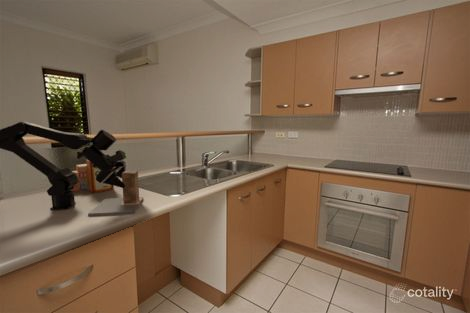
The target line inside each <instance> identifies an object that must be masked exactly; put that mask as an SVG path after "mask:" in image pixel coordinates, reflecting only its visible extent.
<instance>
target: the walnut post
mask: <svg viewBox="0 0 470 313" xmlns="http://www.w3.org/2000/svg"><path fill="white" fill-rule="evenodd" d="M121 181H122V182H123V184H124V185H125V186H126V187H125V188H122V198H123V202H124V204H130V203H137V202H138V200H139V197H140V187H139V170H126V171H124V172H123V173H122V178H121Z"/></svg>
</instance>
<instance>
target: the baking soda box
mask: <svg viewBox="0 0 470 313" xmlns="http://www.w3.org/2000/svg"><path fill="white" fill-rule="evenodd" d="M85 162H86V163H85V164H87V175H88V186H89V189H88V191H89V192H90V193H92V194H97V193H102V192H107V191H108V192H109V191H112V190H114V189H115V188H114V187H115V186H114V185H110V184H105V183H104V184H103V182H104V181H105V180H104V181H103V182H101V183H99V182H98V181H97V180H96V176H97V175H98V174H99V173H100V172H101V170H99V169H98V168H97V167H95V168H94V167H93V164H92V163H91V162H90V161H89V160H87V159H86V160H85Z"/></svg>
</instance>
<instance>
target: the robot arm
mask: <svg viewBox="0 0 470 313" xmlns="http://www.w3.org/2000/svg"><path fill="white" fill-rule="evenodd" d="M27 135H32V136H36V137H40V138H43V139H47V140H50V141H54V142H57V143H60V145H62V146H64V147H66V148H69V149H71V150H75V151H76V154H77V155H76V159H78V160H79V159H82V158H85V159H86V160H89V161H90V162H91V163H92V164H93V167H94V168H95V167H97V168H98V169H99V170H101V172H100V173H99V174H98V175H97V176H96V180H97V181H98V182H99V183H101V182H103V181H104V180H105V181H104V182H103V184H104V183H105V184H110V185H113V186H114V187H117V188H121V189H123V188H125V187H126V186H125V185H124V184H123V182H122V173H123V172H124V171H127V170H126V168H127V164H126V161H124V160H125V159H127V156H126V152H124V151H123V150H122V149H118V150H117V151H115V154H113V155H109V154H105V153H104V152H102V151H107V150H109V148H111V147H112V145H114V144H115V143H116V142H117V139H116V137H115V136H114V135H113V134H111V133H109V132H108V131H106V130H104V129H100V130H99V131H98V132H97V134H96V135H95V136H94V137H88V135H86V134H83V133H78V132H77V133H76V132H68V131H67V132H65V131H61V130H57V129H54V128H51V127H47V126H43V125H39V124H36V123H33V122H31V121H19V122H17V123H15V124H12V125H9V126H7V127H3V128H1V129H0V149H1V150H4V151H7V152H12V154H15V155H16V156H18V158H20V159H22V160H23V161H24V162H26V163H27V164H29V165H30V166H32V167H33V168H35V169H36V170H37V171H39V172H40V173H42V174H43V175H44V176H45V177H47V179H48V182H49V183H50V185H51V186H50V187H49V188H48V189H47V190H46V193H47V194H48V196H51V205H52V207H50V208H49V209H50V210H51V211H52V210H68V209H70V208H71V207H73V206H75V205H76V204H77V202H76V200H75V194H74V191H70V190H72V189H74V186H75V185H76V184H77V182H78V177H77V176H76V175H75V173H74V172H72V171H73V170H71V169H70V168H69V167H68V166H67V167H64V168H60V167H58V166H56V165H55V164H54V163H52V162H51V161H49V160H48V159H47V158H46V157H44V156H43V155H41V154H40V153H39V152H37V151H36V150H34V149H33V148H32V147H30V146H29V145H28V144H27V143H26V142H25V139H24V137H25V136H27ZM88 145H89V146H88ZM80 149H82V150H80ZM77 150H79V151H77Z"/></svg>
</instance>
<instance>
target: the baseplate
mask: <svg viewBox="0 0 470 313" xmlns="http://www.w3.org/2000/svg"><path fill="white" fill-rule="evenodd" d="M143 200H144V197H140V196H139V200H138V202H137V203H130V204H124V202H123V197H120V198H119V197H118V198H117V197H116V198H104V199H103V200H102V201H100V203H99V204H97V205H96V206H95V207H94V208H93V209H91V210H90V211H89V212H88V214H87V216H88V217H94V216H95V217H96V216H98V217H99V216H116V215H117V216H118V215H132V214H133V215H134V214H135V213H136V211H137V210H138V208H139V206H140V205H141V204H142V202H143Z"/></svg>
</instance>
